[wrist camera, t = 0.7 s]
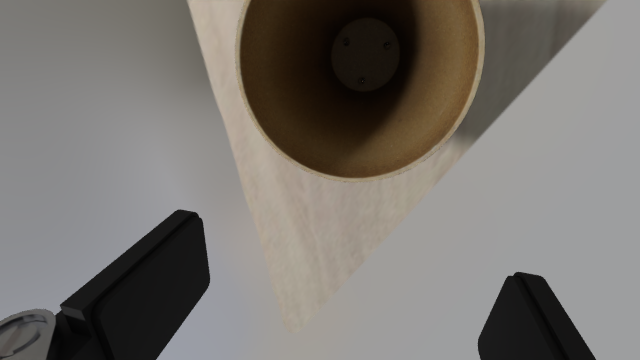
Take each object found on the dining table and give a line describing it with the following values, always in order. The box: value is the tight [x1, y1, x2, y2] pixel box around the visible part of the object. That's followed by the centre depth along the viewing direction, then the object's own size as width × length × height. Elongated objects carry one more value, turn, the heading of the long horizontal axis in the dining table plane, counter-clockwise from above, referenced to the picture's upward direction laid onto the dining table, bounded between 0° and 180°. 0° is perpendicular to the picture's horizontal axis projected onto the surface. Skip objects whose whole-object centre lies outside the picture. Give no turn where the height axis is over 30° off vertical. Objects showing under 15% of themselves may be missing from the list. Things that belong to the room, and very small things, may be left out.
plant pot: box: [235, 0, 485, 182], centre depth 25 cm, size 15×15×16 cm
